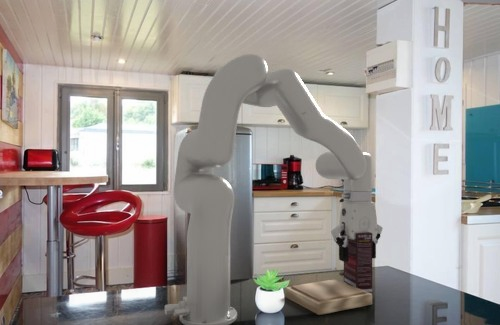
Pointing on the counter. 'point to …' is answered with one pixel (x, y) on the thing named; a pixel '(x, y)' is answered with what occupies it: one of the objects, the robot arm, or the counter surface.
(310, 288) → the oak stand
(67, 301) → the counter surface
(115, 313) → the counter surface
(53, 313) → the counter surface
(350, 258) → the supplement box
